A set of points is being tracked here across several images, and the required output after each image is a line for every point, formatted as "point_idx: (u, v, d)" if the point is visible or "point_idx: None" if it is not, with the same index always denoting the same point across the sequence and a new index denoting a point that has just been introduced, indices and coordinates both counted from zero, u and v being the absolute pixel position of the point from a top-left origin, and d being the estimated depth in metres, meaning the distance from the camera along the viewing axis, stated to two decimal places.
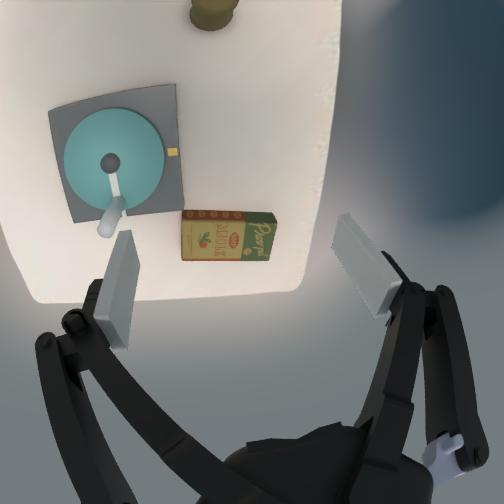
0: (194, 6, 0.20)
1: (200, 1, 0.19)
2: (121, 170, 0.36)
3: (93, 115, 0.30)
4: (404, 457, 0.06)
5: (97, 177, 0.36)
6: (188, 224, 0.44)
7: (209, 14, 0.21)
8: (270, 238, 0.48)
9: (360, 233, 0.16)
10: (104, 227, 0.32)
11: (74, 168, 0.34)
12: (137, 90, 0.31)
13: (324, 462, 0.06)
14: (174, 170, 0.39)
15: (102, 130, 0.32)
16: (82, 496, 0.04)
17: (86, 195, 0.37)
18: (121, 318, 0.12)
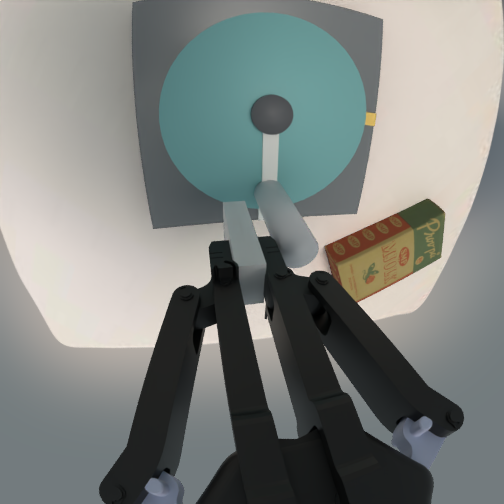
0: None
1: None
2: (289, 132, 0.20)
3: (249, 16, 0.14)
4: (404, 457, 0.06)
5: (235, 139, 0.19)
6: (347, 265, 0.29)
7: None
8: (440, 233, 0.29)
9: (244, 218, 0.16)
10: (300, 246, 0.16)
11: (184, 116, 0.17)
12: (328, 5, 0.14)
13: (324, 462, 0.06)
14: (362, 149, 0.23)
15: (265, 48, 0.15)
16: (132, 444, 0.06)
17: (202, 174, 0.20)
18: None
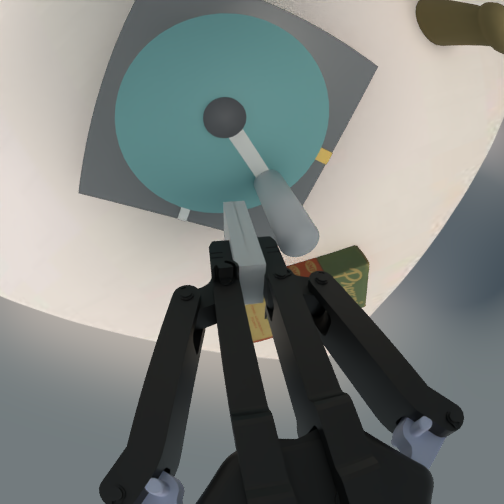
0: (492, 19, 0.08)
1: None
2: (252, 121, 0.19)
3: (145, 50, 0.14)
4: (404, 457, 0.06)
5: (209, 156, 0.20)
6: (247, 305, 0.30)
7: (499, 41, 0.09)
8: (363, 283, 0.32)
9: (244, 218, 0.16)
10: (296, 234, 0.15)
11: (154, 163, 0.19)
12: (328, 35, 0.16)
13: (324, 462, 0.06)
14: (305, 183, 0.24)
15: (178, 66, 0.15)
16: (132, 444, 0.06)
17: (200, 199, 0.22)
18: None
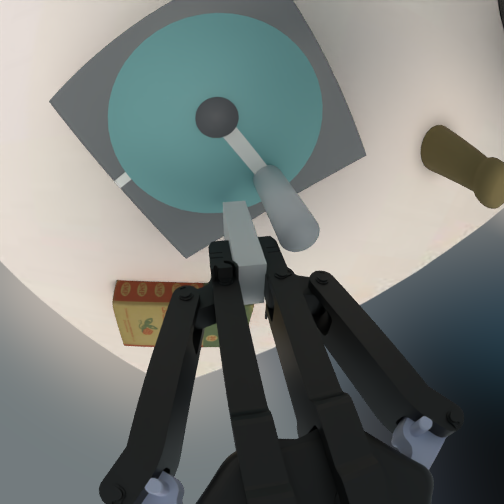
0: (491, 172, 0.17)
1: (500, 180, 0.17)
2: (245, 118, 0.18)
3: (131, 58, 0.14)
4: (404, 457, 0.06)
5: (205, 157, 0.20)
6: (122, 307, 0.27)
7: (485, 191, 0.18)
8: None
9: (245, 218, 0.16)
10: (296, 229, 0.15)
11: (151, 169, 0.19)
12: (346, 107, 0.20)
13: (324, 462, 0.06)
14: None
15: (165, 71, 0.15)
16: (131, 444, 0.06)
17: (201, 200, 0.22)
18: None
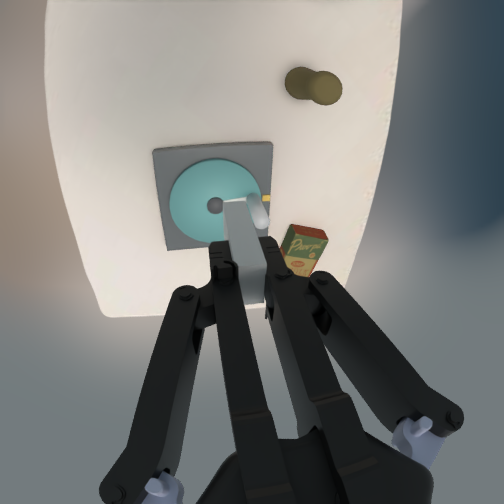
0: (310, 94, 0.33)
1: (318, 93, 0.32)
2: (222, 195, 0.47)
3: (175, 220, 0.48)
4: (404, 457, 0.06)
5: None
6: None
7: (321, 104, 0.34)
8: (307, 239, 0.56)
9: (245, 218, 0.16)
10: (259, 222, 0.42)
11: (220, 234, 0.52)
12: (242, 146, 0.44)
13: (324, 462, 0.06)
14: None
15: (187, 212, 0.48)
16: (131, 444, 0.06)
17: None
18: None
